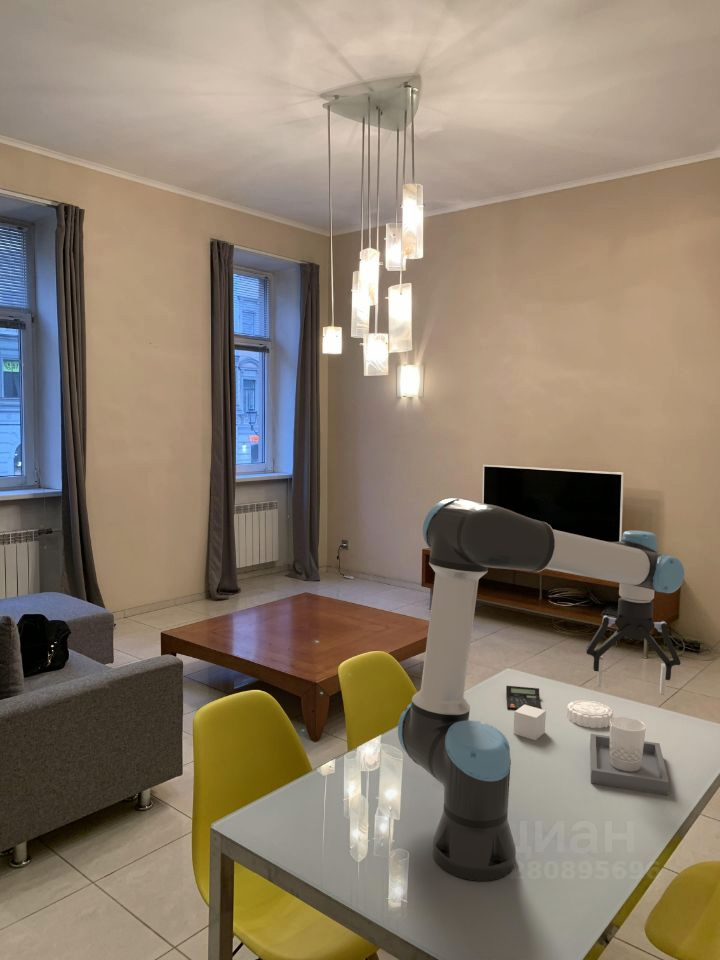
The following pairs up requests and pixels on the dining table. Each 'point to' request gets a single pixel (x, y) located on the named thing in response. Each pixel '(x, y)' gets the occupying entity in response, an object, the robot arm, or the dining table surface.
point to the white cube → (529, 722)
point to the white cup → (626, 743)
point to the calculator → (522, 697)
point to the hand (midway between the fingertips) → (630, 689)
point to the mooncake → (589, 714)
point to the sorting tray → (644, 779)
